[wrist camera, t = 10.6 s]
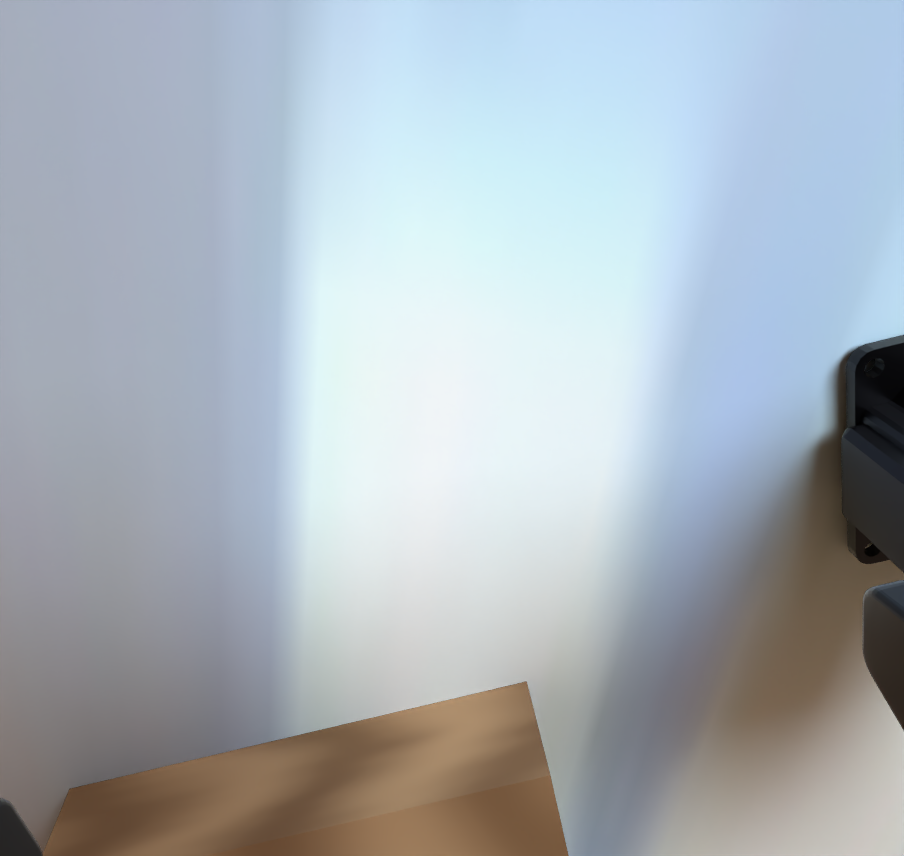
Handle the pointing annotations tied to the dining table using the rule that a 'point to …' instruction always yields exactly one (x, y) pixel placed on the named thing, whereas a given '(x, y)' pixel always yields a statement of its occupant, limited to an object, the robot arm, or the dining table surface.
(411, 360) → the dining table surface
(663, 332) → the dining table surface
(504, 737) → the brown block
